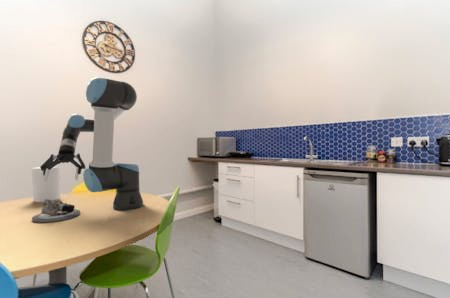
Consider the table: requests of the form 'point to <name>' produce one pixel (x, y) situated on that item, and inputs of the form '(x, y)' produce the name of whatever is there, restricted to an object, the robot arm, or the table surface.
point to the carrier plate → (55, 217)
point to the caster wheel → (56, 207)
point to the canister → (46, 185)
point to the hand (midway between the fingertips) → (61, 179)
